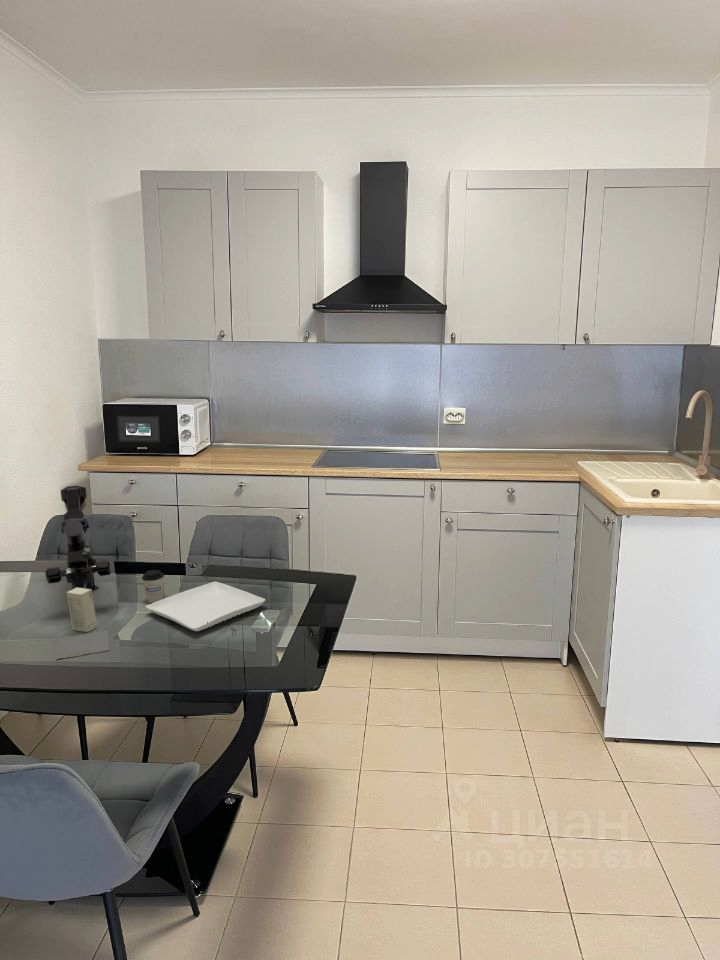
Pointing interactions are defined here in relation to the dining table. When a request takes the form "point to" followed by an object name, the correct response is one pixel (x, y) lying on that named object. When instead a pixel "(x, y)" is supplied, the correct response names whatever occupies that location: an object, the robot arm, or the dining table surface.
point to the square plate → (206, 605)
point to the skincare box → (82, 609)
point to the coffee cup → (153, 585)
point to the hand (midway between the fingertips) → (80, 596)
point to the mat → (85, 642)
